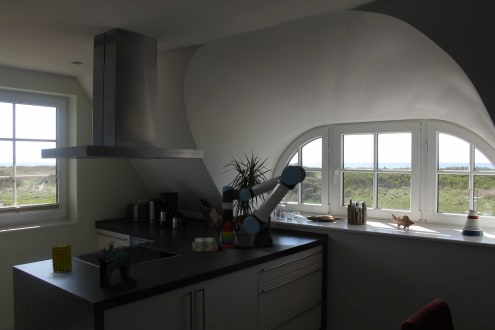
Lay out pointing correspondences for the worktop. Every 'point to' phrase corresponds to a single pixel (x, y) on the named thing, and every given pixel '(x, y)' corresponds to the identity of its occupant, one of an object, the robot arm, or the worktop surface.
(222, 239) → the stacking bear
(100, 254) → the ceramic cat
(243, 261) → the worktop surface
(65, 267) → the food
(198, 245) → the plinth
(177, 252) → the worktop surface
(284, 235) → the worktop surface
